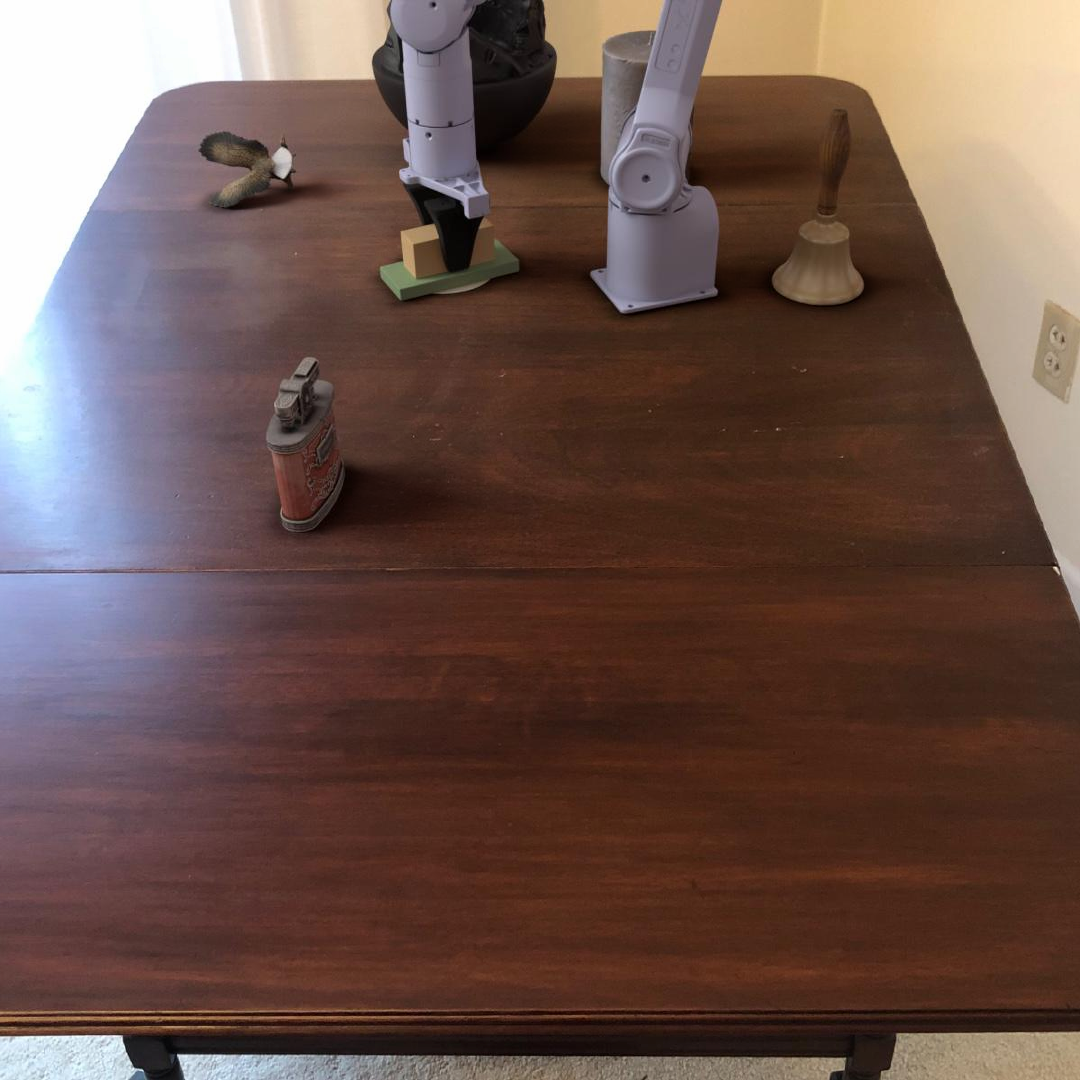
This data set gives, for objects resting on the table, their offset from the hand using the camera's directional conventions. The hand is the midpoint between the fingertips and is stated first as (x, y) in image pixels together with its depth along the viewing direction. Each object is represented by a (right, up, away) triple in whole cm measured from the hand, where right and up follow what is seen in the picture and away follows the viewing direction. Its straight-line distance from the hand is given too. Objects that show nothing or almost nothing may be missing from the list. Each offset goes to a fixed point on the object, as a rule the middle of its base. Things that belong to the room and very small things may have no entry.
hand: (450, 260), depth 113 cm
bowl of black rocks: (0, +19, +25) cm, 31 cm away
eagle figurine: (-22, +10, +16) cm, 29 cm away
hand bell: (+34, -3, -1) cm, 34 cm away
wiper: (0, -1, +1) cm, 1 cm away
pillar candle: (+20, +13, +18) cm, 29 cm away
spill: (0, -1, +2) cm, 2 cm away
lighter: (-8, -23, -25) cm, 35 cm away
